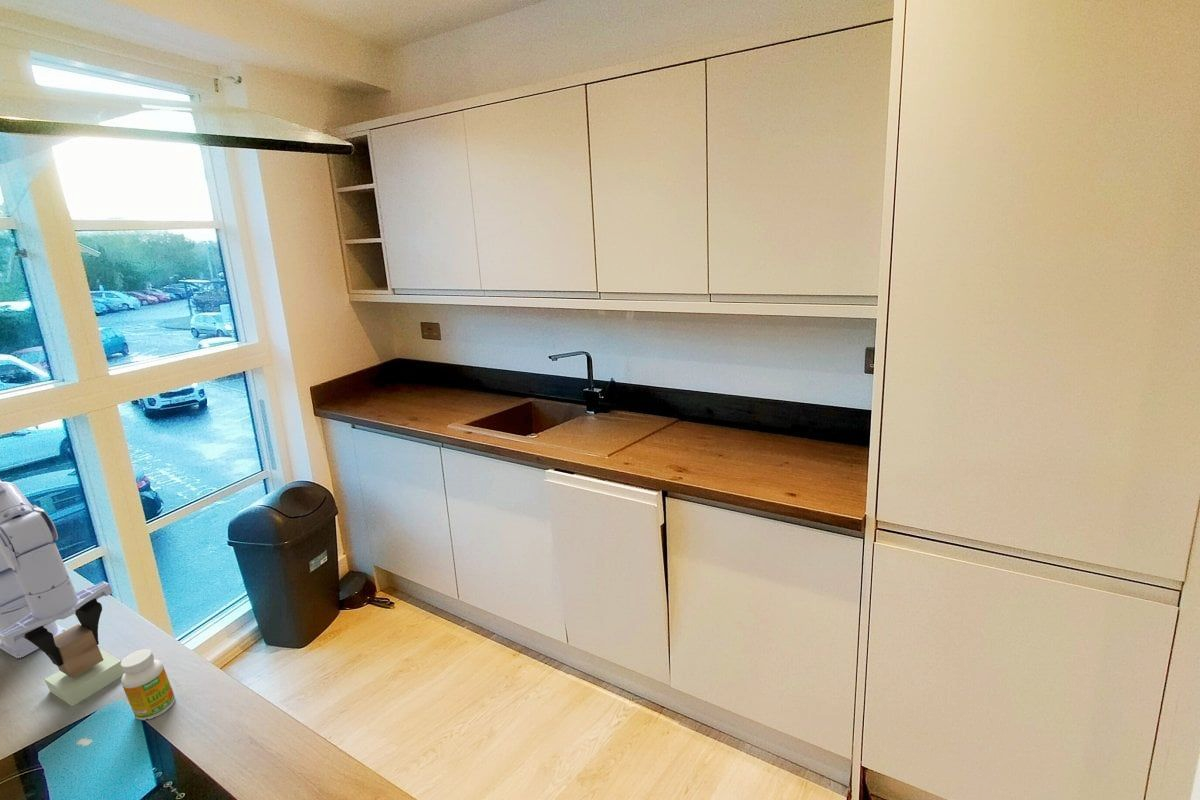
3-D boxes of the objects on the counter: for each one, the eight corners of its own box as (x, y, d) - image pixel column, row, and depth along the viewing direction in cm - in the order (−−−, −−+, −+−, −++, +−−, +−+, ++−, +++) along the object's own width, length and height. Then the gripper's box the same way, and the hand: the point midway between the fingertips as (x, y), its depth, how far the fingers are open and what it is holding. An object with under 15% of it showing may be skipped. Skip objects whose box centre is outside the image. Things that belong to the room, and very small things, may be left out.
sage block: (50, 693, 105) (44, 679, 104) (104, 662, 111) (98, 648, 110) (73, 708, 101) (66, 693, 100) (127, 674, 107) (121, 660, 106)
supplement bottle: (155, 722, 96) (134, 671, 93) (126, 719, 97) (105, 669, 94) (183, 696, 101) (165, 646, 98) (156, 693, 102) (137, 644, 99)
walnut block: (59, 670, 104) (46, 641, 102) (90, 652, 108) (78, 624, 106) (72, 678, 102) (59, 648, 100) (103, 660, 106) (91, 630, 104)
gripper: (0, 617, 92) (34, 691, 96) (109, 564, 104) (136, 632, 108) (-20, 606, 95) (14, 678, 100) (88, 556, 107) (115, 622, 111)
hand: (76, 653), depth 104 cm, fingers closed on walnut block, 4 cm apart
